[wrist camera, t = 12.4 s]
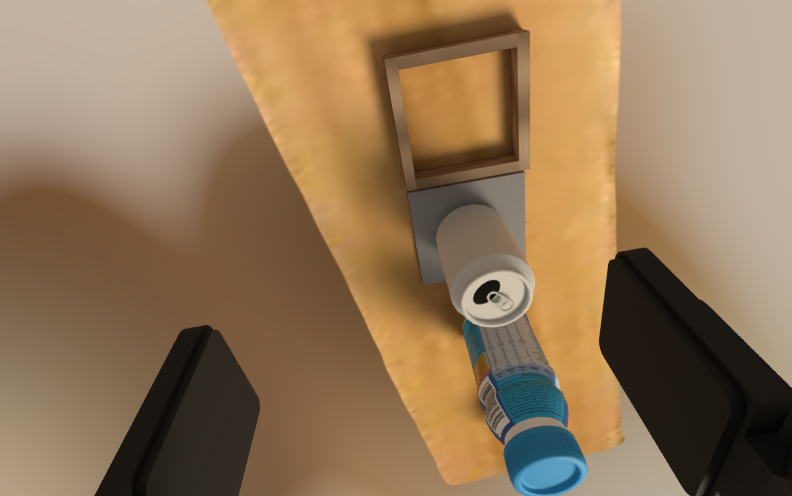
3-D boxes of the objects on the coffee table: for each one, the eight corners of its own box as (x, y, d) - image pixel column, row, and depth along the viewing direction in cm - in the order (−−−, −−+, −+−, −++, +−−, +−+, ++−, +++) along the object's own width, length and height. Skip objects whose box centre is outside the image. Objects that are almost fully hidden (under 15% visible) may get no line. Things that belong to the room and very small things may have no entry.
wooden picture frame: (383, 56, 36) (384, 59, 35) (522, 28, 36) (529, 31, 34) (405, 183, 43) (406, 191, 41) (523, 161, 42) (529, 169, 40)
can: (463, 187, 43) (491, 250, 33) (517, 221, 45) (560, 289, 35) (421, 241, 46) (435, 314, 36) (474, 270, 48) (502, 346, 38)
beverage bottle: (506, 285, 50) (575, 437, 33) (538, 326, 54) (614, 481, 37) (447, 319, 53) (484, 477, 36) (481, 356, 56) (529, 514, 40)
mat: (406, 191, 43) (407, 193, 43) (523, 170, 43) (524, 172, 42) (422, 283, 50) (423, 285, 49) (524, 266, 49) (525, 268, 49)
